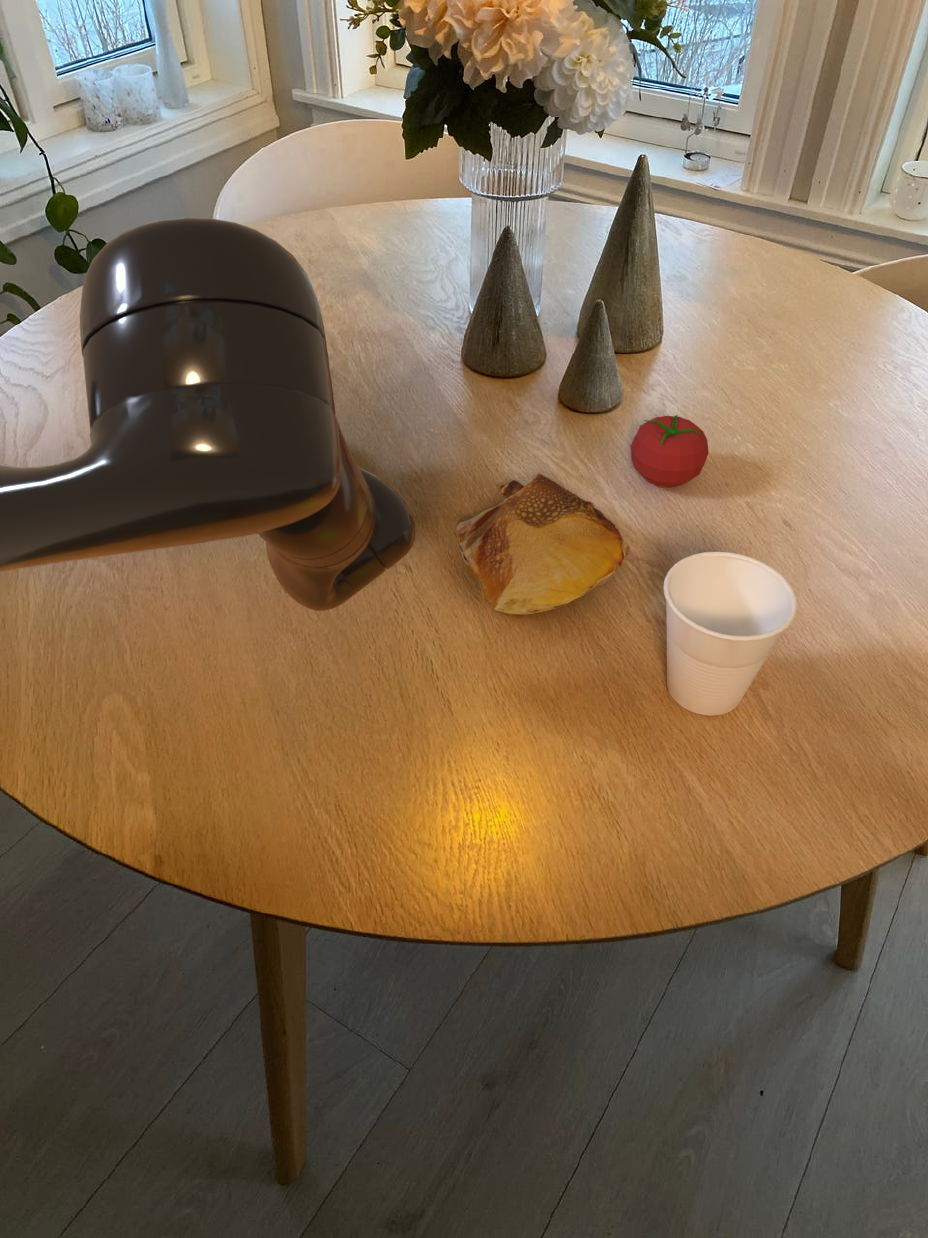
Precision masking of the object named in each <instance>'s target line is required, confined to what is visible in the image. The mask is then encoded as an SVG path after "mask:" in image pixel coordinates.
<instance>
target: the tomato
mask: <svg viewBox="0 0 928 1238" xmlns="http://www.w3.org/2000/svg"><path fill="white" fill-rule="evenodd" d="M644 422H645V423H643V424H641V425H640V426H639V428H638V430H637V432H636V433H635V435H634V436H633V439H632V441H631V444H630V456H631V457H630V458H631V462H632V464H633V465H632V466H633V467H634V469H635V470H636V471H637V473H638V474H639V475H640V476H641V477H642V478H643V479H644V480H645V481H646V482H648V483H649V484H651V485H654V486H656V487H660V488H676V487H681V486H683V485H685V484H687V483H689V482H690V481H692V480H693V479H696V477H698V476H700V475H701V472H702V470H703V468H704V466H705V464H706V462H707V459H708V456H709V453H710V452H709V443H708V438H707V436H706V435H705V431H704V430H702V428H700V427H699V426H698V425H697V424H695V423H694V422H693V421H691V420H690V419H686V418H684V417H681V416H678V414H676V415H662V416H657V417H654V418H652V419H649V420H648V419H645V420H644Z"/></svg>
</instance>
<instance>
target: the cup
mask: <svg viewBox="0 0 928 1238" xmlns="http://www.w3.org/2000/svg"><path fill="white" fill-rule="evenodd" d="M663 594H664V598H665V604H666V605H665V607H666V609H665V610H666V611H665V613H666V617H665V618H666V619H665V620H666V688H667V690H668V693H669V695H670V696H671V698H672V700H673V701H674V702H675V703H676V704H678V705H679V706H680V707H682V708H683V709H685V710H687V711H688V712H691V713H693V714H697V715H701V716H709V717H711V716H712V717H714V716H722V715H725V714H728V713H730V712H732V711H733V710H734V709H736V708H737V707H738V705H739V704H740V703H741V702H742V700H743V698H744V696H746V693H747V692H748V690H749V689H750V686H751V685H752V684H753V681H754V680H755V678H756V677H757V675H758V673H759V672H760V670H761V668H762V666H764V663H765V662H766V660H767V659H768V657H769V655H770V654H771V652H772V651H773V649H774V648H775V646H776V644H777V642H778V641H779V639H780V637H781V636H782V634H783V633H784V631H785V630H786V629H787V628H788V627H790V626H791V624H792V623H793V621H794V620H795V618H796V616H797V612H798V599H797V595H796V592H795V590H794V588H793V586H792V585H791V584H790V582H789V581H788V580H787V578H786V577H784V576H783V574H781V573H780V572H779V571H778V570H776V569H775V568H774V567H772V566H771V565H769V564H767V563H765V562H763V561H761V560H758V559H756V558H754V557H752V556H749V555H748V556H747V555H744V554H740V553H735V552H729V551H705V552H699V553H695V554H691V555H688V556H687V557H685V558H682V559H680V560H679V561H678V562H676V563H675V564H674V565H673V566H672V567H671V568H670V569H669V570H668V571H667V573H666V576H665V577H664V581H663Z"/></svg>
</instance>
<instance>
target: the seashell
mask: <svg viewBox="0 0 928 1238" xmlns="http://www.w3.org/2000/svg"><path fill="white" fill-rule="evenodd" d="M496 487H497V489H498V492H499V494H500V495H502V496H503V497H505V499H503V500H502V501H500V503H498V504H497V505H495V506H492V507H489V508H487V509H485V510H482V511H481V512H479V513H478V514H476V515H474V516H472V517H469V518H463V519H459V520H457V521H454V526H453V529H452V530H453V535H454V538H455V541H456V546H457V548H458V550H459V551H460V554H461V557H462V560H463V562H464V564H465V566H466V567H467V569H468V571H469V573H470V574H471V575H472V576H473V578H474V579H475V581H476V582H477V584H478V586H479V589H480V593H481V598H482V601H483V602H484V603H485V604H486V605H487V606H488V608H491V609H492V610H494V611H496V612H500V613H504V614H507V615H525V616H527V615H532V614H538V613H543V612H546V611H551V610H555V609H559V608H561V607H564V606H567V605H568V604H570V603H571V602H573V601H574V600H577V599H580V598H583V597H584V596H586V595H588V594H589V593H590V592H592V591H593V590H595V589H597V588H599V587H600V586H602V585H604V584H605V583H607V582H608V581H609V580H610V579H611V578H612V577H613V576H614V575H615V574H616V573H617V572H618V571H619V569H620V568H622V566H623V564H624V561H625V558H626V556H628V555H629V554H630V550H631V546H629V544H626V543H625V541H624V539H623V537H622V535H621V533H620V531H619V529H618V528H617V527H616V525H615V524H614V522H612V521H611V520H610V519H609V518H607V517H606V516H605V514H604V513H603V512H601V510H599V509H597V508H596V507H595V506H594V503H593V502H591V501H587V500H584V499H583V498H581V497H579V495H577V494H575V493H573V492H572V491H570V490H568V489H566V488H565V487H563V486H562V485H561V484H559V483H557V481H554V480H552V479H550V478H549V477H547V476H545V475H543V474H541V473H537V474H536V476H535V478H533V480H531V481H530V482H529V483H528V484H527V485H526V486H525V485H522V484H521V483H520V482H519V481H518V480H515V479H513V480H511V481H509V482H508V483H506V484H499V483H497V484H496Z"/></svg>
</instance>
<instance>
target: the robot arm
mask: <svg viewBox="0 0 928 1238" xmlns="http://www.w3.org/2000/svg"><path fill="white" fill-rule="evenodd" d="M82 282H83V283H82V290H81V299H80V309H79V311H80V312H79V336H80V348H81V356H82V359H83V360H82V361H83V371H84V381H85V382H84V383H85V391H86V402H87V412H88V422H89V423H88V424H89V431H90V432H89V438H90V439H89V440H90V446H89V448H87V450H86V451H85V452H84V453H83V452H82V454H81V455H79V456H77V457H75V458H73V459H70V460H68V461H63V462H59V463H55V464H50V465H42V466H31V467H29V466H27V467H20V466H14V465H10V464H7V463H5V462H1V461H0V573H4V572H8V571H14V570H20V569H26V568H32V567H37V566H44V565H52V564H58V563H66V562H72V561H80V560H87V559H95V558H102V557H109V556H116V555H117V556H118V555H123V554H124V555H125V554H130V553H138V552H146V551H154V550H161V549H168V548H175V547H182V546H183V547H184V546H190V545H196V544H197V545H198V544H203V543H209V542H215V541H221V540H227V539H234V538H240V537H245V536H251V535H255V534H258V535H259V537H260V538H261V539H262V540H263V541H264V542H265V548H266V554H267V558H268V561H269V564H270V567H271V569H272V571H273V574H274V576H275V578H276V579H277V582H279V584H280V586H281V587H282V589H284V591H285V592H286V593H287V594H288V595H289V597H291V598H292V599H293V600H294V601H295V602H296V603H298V604H299V605H301V606H302V607H305V608H307V609H309V610H311V611H318V612H323V611H329V610H334V609H335V608H337V607H339V606H341V605H342V604H345V603H346V602H348V601H349V600H350V599H351V598H352V597H354V596H355V595H357V593H360V591H361V590H363V589H365V587H367V586H368V585H370V584H371V583H372V582H373V581H375V580H376V579H378V578H380V576H382V575H383V574H384V573H386V571H387V570H390V569H391V568H392V567H394V566H395V565H396V564H397V563H399V562H400V561H401V560H402V559H404V557H405V556H407V555H408V553H409V552H410V551H411V549H412V548H413V546H414V543H415V540H416V532H417V531H416V521H415V517H414V514H413V512H412V509H411V508H410V506H409V504H408V503H407V501H406V500H405V498H403V496H402V495H401V494H400V493H399V492H398V490H396V489H395V488H394V487H392V486H391V485H390V484H389V483H387V482H386V481H385V480H384V479H383V478H380V477H378V476H377V475H375V474H374V473H372V472H370V471H368V470H367V469H364V468H362V467H360V466H359V465H358V463H357V462H356V460H355V458H354V456H353V453H352V451H351V450H350V448H349V446H348V443H347V441H346V438H345V436H344V434H343V432H342V429H341V427H340V424H339V422H338V419H337V415H336V405H335V404H336V403H335V398H334V390H333V383H332V375H331V368H330V367H331V366H330V361H329V360H330V359H329V353H328V345H327V337H326V330H325V326H324V325H325V324H324V320H323V314H322V310H321V306H320V304H319V300H318V297H317V293H316V292H315V289H314V286H313V283H312V281H311V280H310V277H309V275H308V274H307V272H306V270H305V269H304V268H303V266H302V264H301V263H300V262H299V260H297V258H296V257H295V256H294V255H293V254H292V253H291V252H290V251H289V250H287V249H286V248H285V247H284V246H283V245H282V244H280V243H279V242H278V241H277V240H275V239H274V238H272V237H270V236H268V235H266V234H264V233H263V232H261V231H259V230H258V229H255V228H252V227H249V226H246V225H244V224H240V223H237V222H234V221H229V220H224V219H218V218H212V217H211V218H210V217H179V218H170V219H169V218H168V219H163V220H156V221H152V222H148V223H144V224H142V225H140V226H137V227H134V228H132V229H130V230H127V231H124V232H122V233H120V234H118V235H117V236H115V237H114V238H113V239H111V240H109V241H108V242H107V243H105V245H104V246H103V247H102V249H100V250H99V252H98V253H97V254H96V255H95V256H94V257H93V259H92V260H91V262H90V264H89V267H88V269H87V271H86V273H85V275H84V278H83V281H82Z"/></svg>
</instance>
